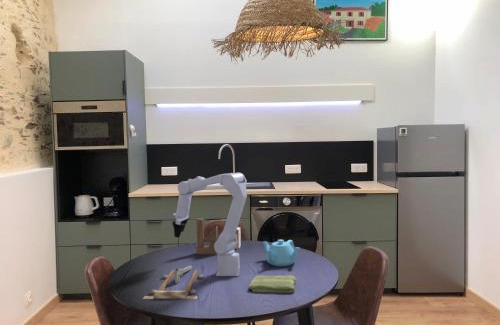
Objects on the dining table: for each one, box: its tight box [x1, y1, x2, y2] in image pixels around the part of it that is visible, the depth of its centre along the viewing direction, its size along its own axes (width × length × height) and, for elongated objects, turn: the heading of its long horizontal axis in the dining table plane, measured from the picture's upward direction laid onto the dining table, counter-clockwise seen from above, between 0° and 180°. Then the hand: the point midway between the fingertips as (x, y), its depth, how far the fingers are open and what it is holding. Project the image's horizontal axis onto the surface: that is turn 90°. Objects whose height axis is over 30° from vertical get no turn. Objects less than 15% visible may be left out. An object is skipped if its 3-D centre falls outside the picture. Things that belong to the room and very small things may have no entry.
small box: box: [235, 226, 242, 250], centre depth 204 cm, size 8×6×10 cm
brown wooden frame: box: [195, 217, 219, 256], centre depth 193 cm, size 4×11×18 cm, turn 84°
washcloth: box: [248, 274, 297, 294], centre depth 148 cm, size 13×18×3 cm
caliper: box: [174, 265, 193, 285], centre depth 163 cm, size 20×1×6 cm, turn 171°
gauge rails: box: [142, 269, 204, 300], centre depth 152 cm, size 20×27×2 cm
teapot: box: [262, 239, 301, 268], centre depth 177 cm, size 15×15×11 cm
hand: (178, 234), depth 176 cm, fingers open, 7 cm apart
